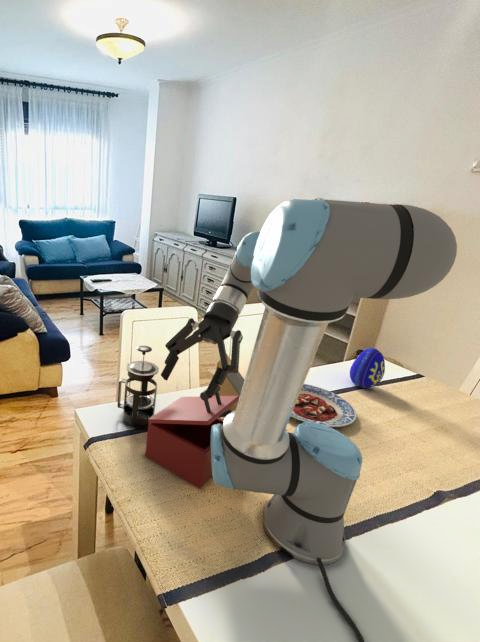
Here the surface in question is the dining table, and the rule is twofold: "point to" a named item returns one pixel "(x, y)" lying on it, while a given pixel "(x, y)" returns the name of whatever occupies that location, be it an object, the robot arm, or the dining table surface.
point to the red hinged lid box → (182, 449)
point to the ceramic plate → (323, 407)
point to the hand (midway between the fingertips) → (185, 386)
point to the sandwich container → (231, 384)
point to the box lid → (195, 409)
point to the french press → (139, 392)
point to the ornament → (368, 368)
